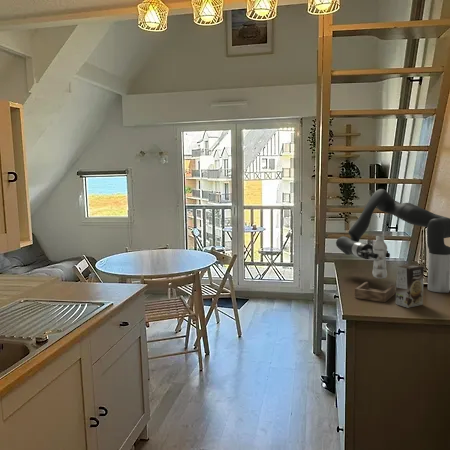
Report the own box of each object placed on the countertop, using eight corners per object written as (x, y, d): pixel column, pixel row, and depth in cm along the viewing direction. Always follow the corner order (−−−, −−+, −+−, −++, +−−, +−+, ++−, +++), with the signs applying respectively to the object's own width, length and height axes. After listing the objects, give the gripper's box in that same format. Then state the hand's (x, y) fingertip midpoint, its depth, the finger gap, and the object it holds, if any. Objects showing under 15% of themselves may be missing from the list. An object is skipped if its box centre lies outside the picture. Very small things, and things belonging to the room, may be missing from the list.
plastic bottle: (379, 280, 200) (380, 237, 197) (369, 277, 206) (369, 235, 204) (390, 278, 202) (391, 236, 200) (379, 276, 208) (380, 234, 206)
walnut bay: (394, 294, 194) (395, 285, 193) (385, 302, 182) (385, 293, 181) (365, 290, 201) (365, 281, 201) (354, 297, 189) (354, 288, 189)
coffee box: (408, 308, 173) (409, 268, 172) (395, 304, 179) (396, 265, 177) (423, 304, 177) (424, 266, 176) (410, 301, 183) (411, 263, 181)
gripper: (349, 243, 214) (369, 248, 198) (375, 242, 218) (396, 247, 202) (349, 258, 215) (369, 265, 199) (375, 256, 219) (396, 262, 203)
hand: (382, 255), depth 200 cm, fingers closed on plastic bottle, 6 cm apart
